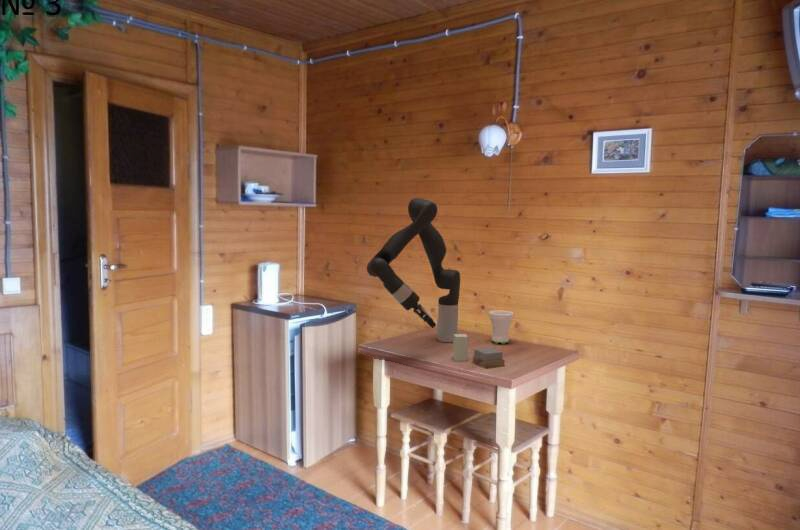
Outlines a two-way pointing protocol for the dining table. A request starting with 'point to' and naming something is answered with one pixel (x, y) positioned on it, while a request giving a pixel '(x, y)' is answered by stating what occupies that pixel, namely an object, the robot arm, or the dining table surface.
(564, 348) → the dining table surface
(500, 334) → the cup
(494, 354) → the charcoal slab
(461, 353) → the sage pillar
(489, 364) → the walnut slab
